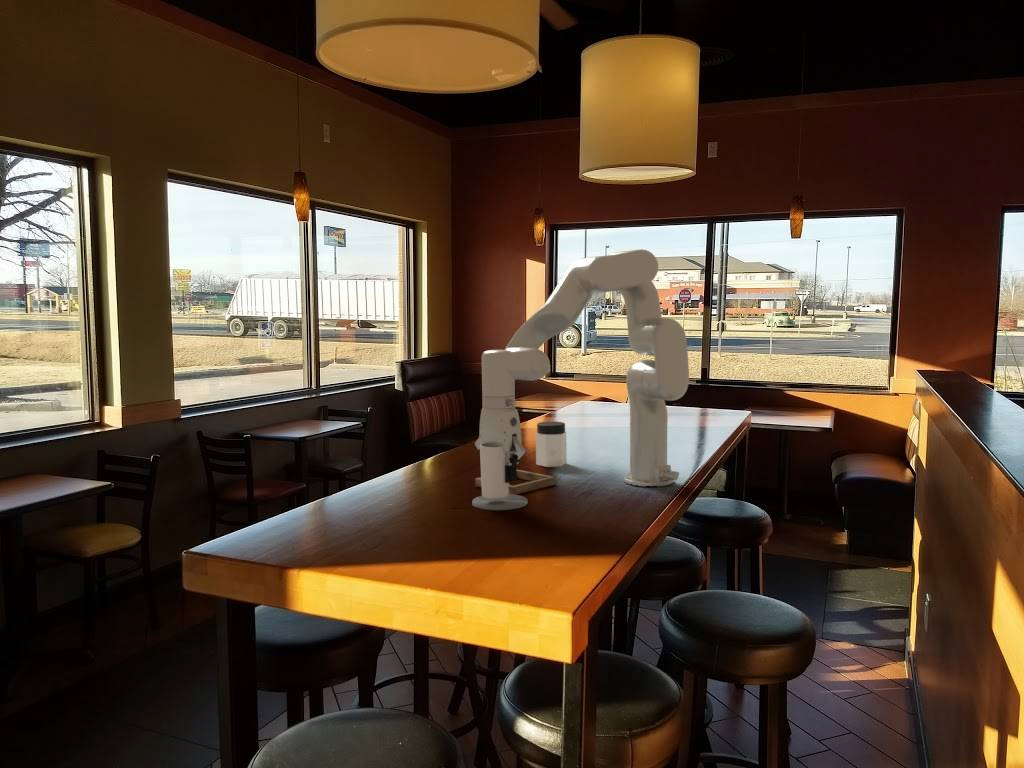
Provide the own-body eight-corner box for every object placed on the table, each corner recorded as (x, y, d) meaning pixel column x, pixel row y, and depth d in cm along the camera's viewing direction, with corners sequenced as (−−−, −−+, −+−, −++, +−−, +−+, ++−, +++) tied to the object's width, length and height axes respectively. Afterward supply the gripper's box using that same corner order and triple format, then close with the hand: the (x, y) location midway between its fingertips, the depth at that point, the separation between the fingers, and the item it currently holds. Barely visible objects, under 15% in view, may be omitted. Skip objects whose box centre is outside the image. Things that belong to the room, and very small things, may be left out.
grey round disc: (539, 502, 179) (539, 500, 179) (499, 513, 170) (499, 511, 170) (500, 493, 188) (500, 491, 188) (460, 503, 179) (460, 501, 179)
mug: (500, 500, 173) (499, 448, 172) (475, 497, 177) (474, 445, 175) (522, 491, 182) (521, 441, 181) (497, 488, 185) (496, 439, 184)
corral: (554, 484, 197) (554, 476, 197) (513, 495, 186) (513, 487, 186) (516, 476, 207) (516, 469, 207) (475, 486, 196) (474, 478, 196)
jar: (538, 467, 218) (538, 426, 217) (533, 462, 226) (533, 421, 225) (569, 466, 219) (569, 425, 218) (563, 460, 227) (563, 420, 226)
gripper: (537, 404, 173) (538, 482, 175) (485, 398, 186) (486, 471, 187) (513, 408, 168) (514, 488, 170) (461, 402, 180) (463, 476, 182)
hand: (500, 478), depth 179 cm, fingers closed on mug, 6 cm apart
